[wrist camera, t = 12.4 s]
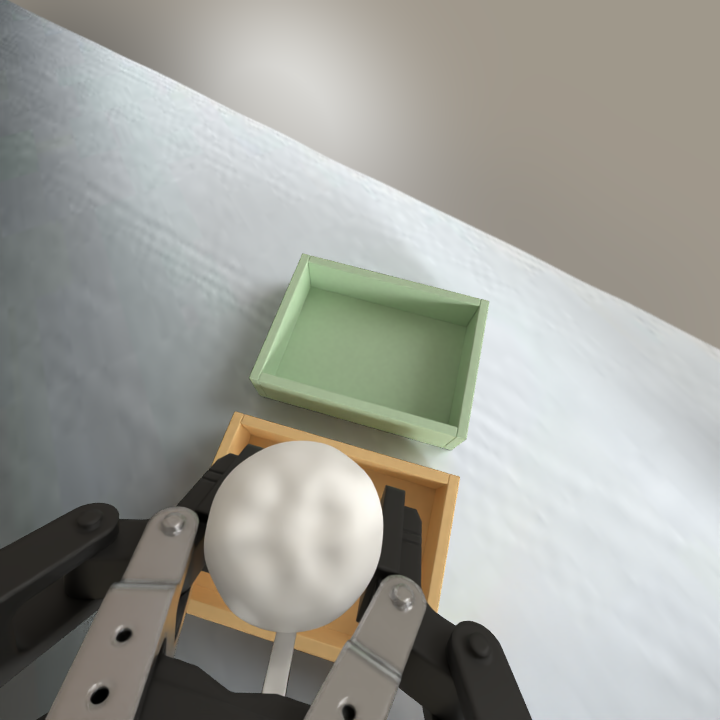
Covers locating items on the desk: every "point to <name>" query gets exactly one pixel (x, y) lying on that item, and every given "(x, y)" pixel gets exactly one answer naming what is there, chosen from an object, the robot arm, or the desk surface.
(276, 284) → the desk surface
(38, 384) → the desk surface
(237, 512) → the milkshake
